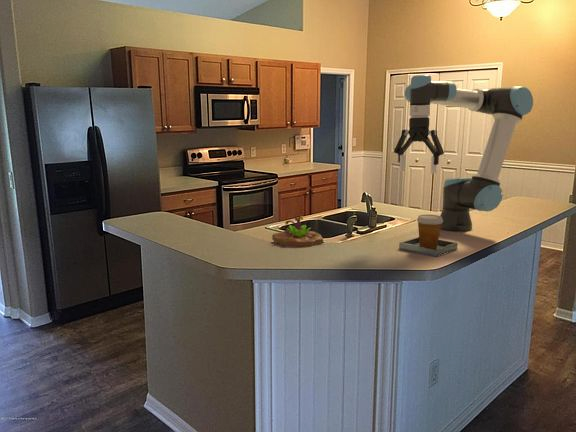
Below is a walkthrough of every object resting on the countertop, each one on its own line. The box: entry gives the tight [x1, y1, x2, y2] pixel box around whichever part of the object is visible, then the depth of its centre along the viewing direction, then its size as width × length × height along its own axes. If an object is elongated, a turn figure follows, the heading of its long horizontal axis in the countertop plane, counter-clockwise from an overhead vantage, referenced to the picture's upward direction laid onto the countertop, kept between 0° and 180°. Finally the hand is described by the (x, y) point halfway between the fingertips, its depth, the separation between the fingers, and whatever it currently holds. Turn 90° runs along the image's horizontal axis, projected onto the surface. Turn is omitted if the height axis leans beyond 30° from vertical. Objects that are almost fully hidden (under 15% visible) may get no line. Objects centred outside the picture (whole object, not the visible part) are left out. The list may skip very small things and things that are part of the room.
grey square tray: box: [398, 236, 459, 258], centre depth 183 cm, size 16×16×2 cm
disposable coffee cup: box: [416, 214, 443, 249], centre depth 182 cm, size 10×10×12 cm
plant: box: [271, 214, 324, 248], centre depth 195 cm, size 20×20×11 cm
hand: (417, 172), depth 189 cm, fingers open, 13 cm apart
